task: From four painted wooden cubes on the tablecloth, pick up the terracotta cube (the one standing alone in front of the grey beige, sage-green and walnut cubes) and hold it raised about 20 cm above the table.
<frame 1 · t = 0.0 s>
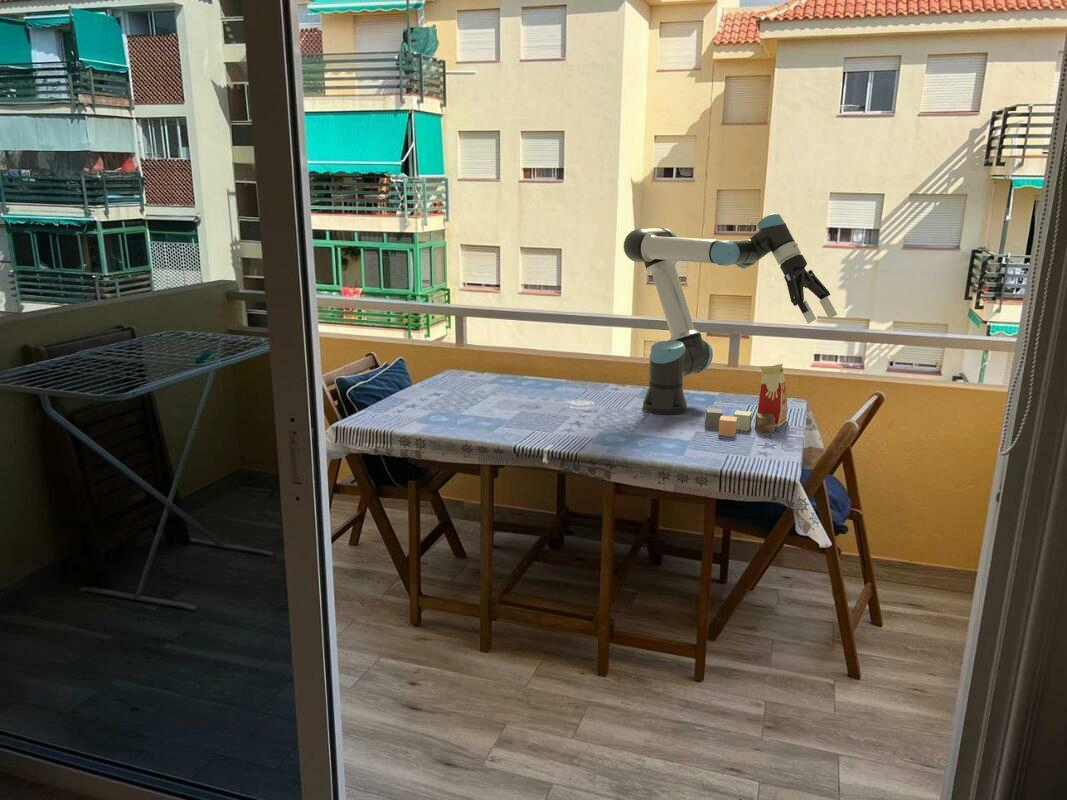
hand: (823, 319, 237), 36 cm above the table, tool tilted 35°, fingers open, 13 cm apart
walnut block: (764, 430, 248), on the table
grey beige cube: (713, 425, 253), on the table
milk carton: (769, 422, 257), on the table
terracotta block: (727, 433, 244), on the table
sage block: (741, 427, 250), on the table
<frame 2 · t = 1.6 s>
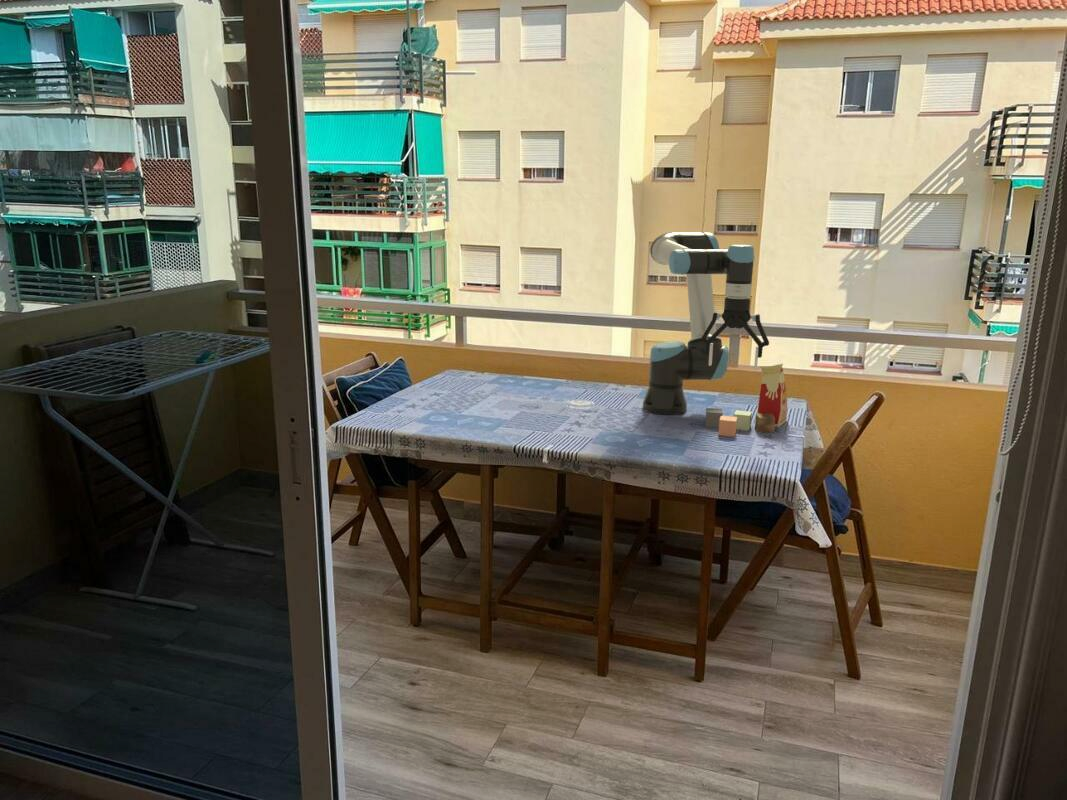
hand: (732, 366, 239), 22 cm above the table, tool pointing down, fingers open, 13 cm apart
nothing on the table moved.
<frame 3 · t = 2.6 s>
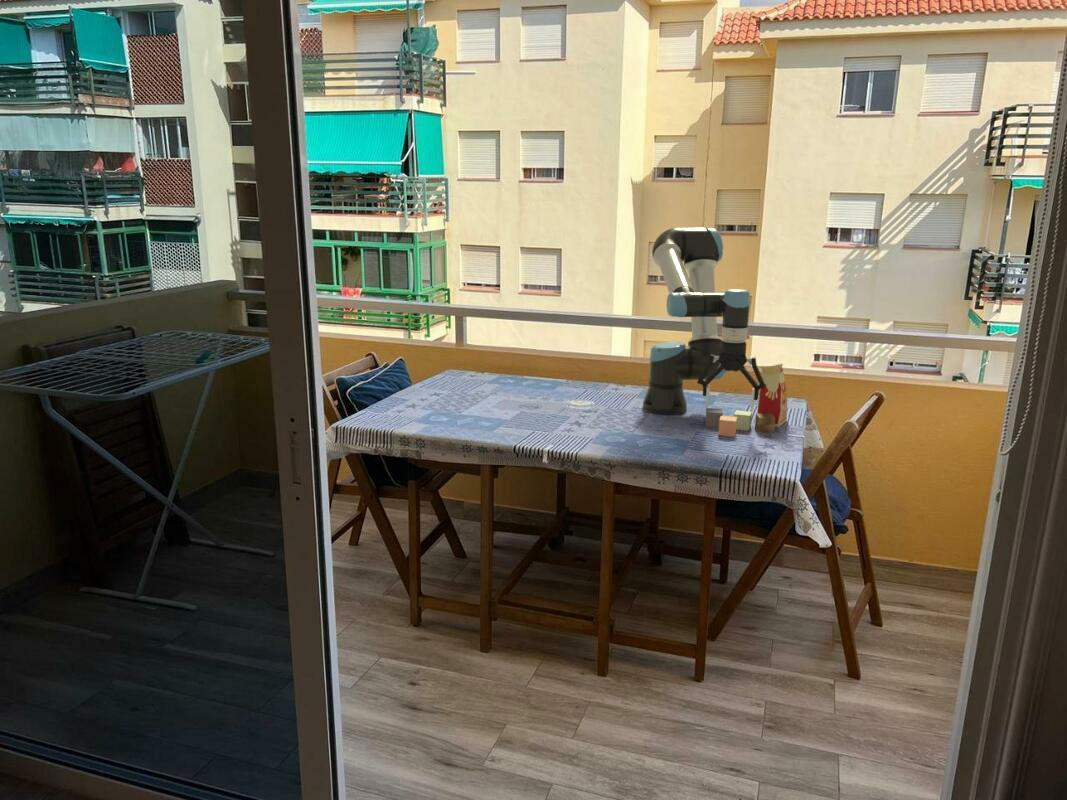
hand: (729, 408, 242), 8 cm above the table, tool pointing down, fingers open, 13 cm apart
nothing on the table moved.
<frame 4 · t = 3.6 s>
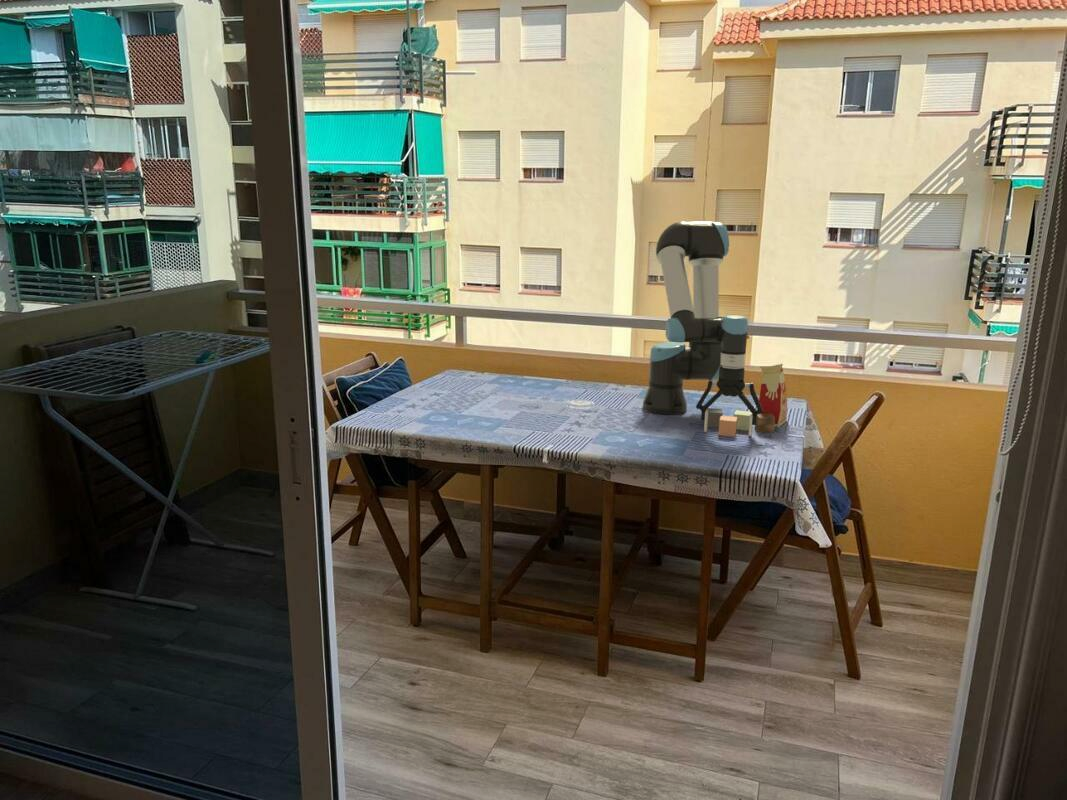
hand: (727, 432, 244), 0 cm above the table, tool pointing down, fingers open, 13 cm apart
nothing on the table moved.
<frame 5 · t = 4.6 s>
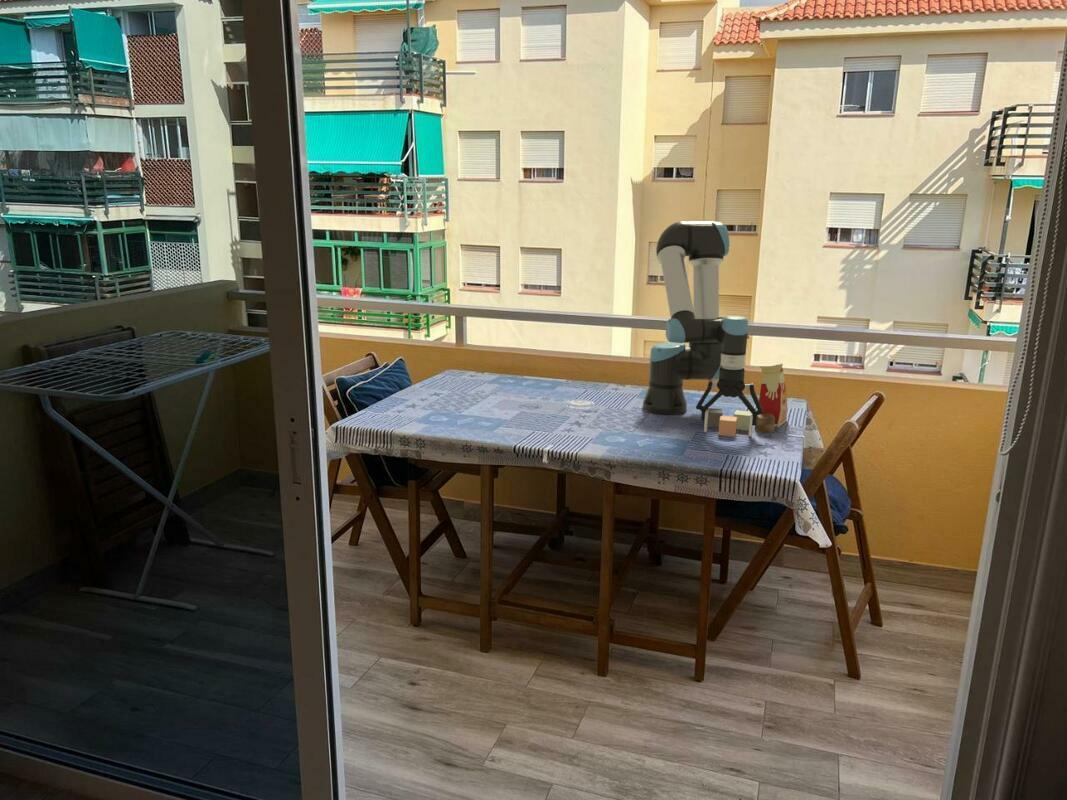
hand: (727, 433, 244), 0 cm above the table, tool pointing down, fingers open, 13 cm apart
nothing on the table moved.
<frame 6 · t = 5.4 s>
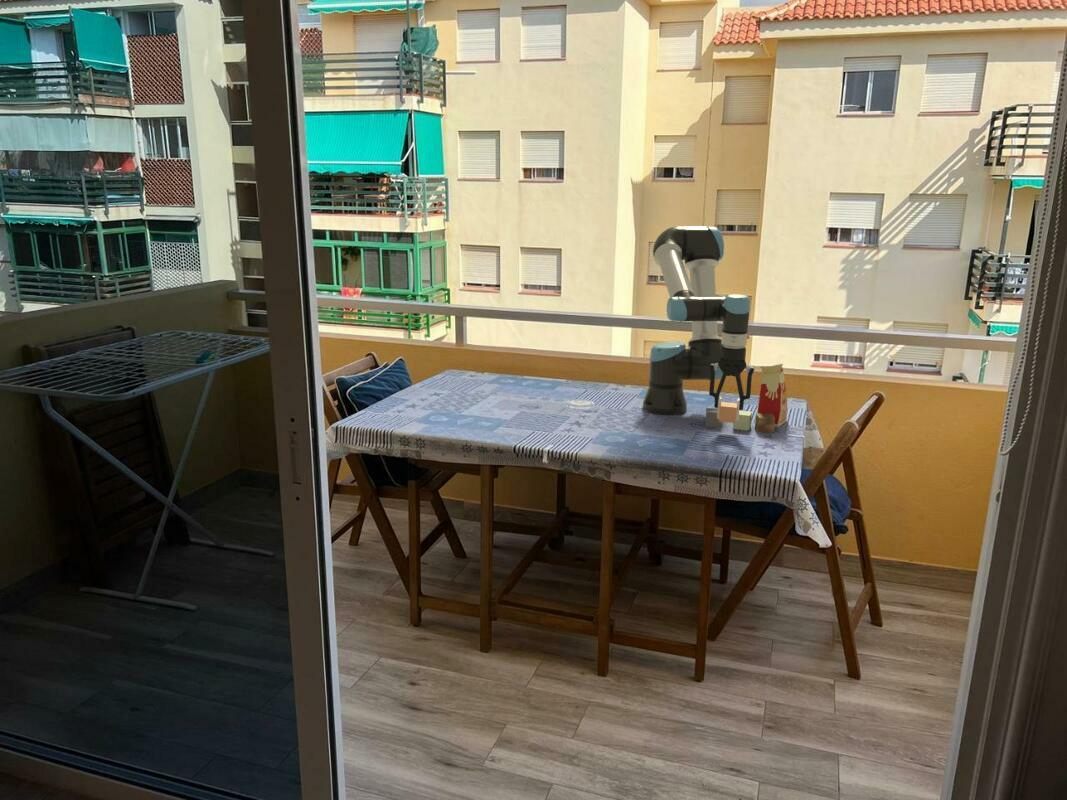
hand: (727, 418, 244), 5 cm above the table, tool pointing down, fingers closed on terracotta block, 5 cm apart
terracotta block: (727, 420, 244), point 4 cm above the table, touching gripper
everything else where it was.
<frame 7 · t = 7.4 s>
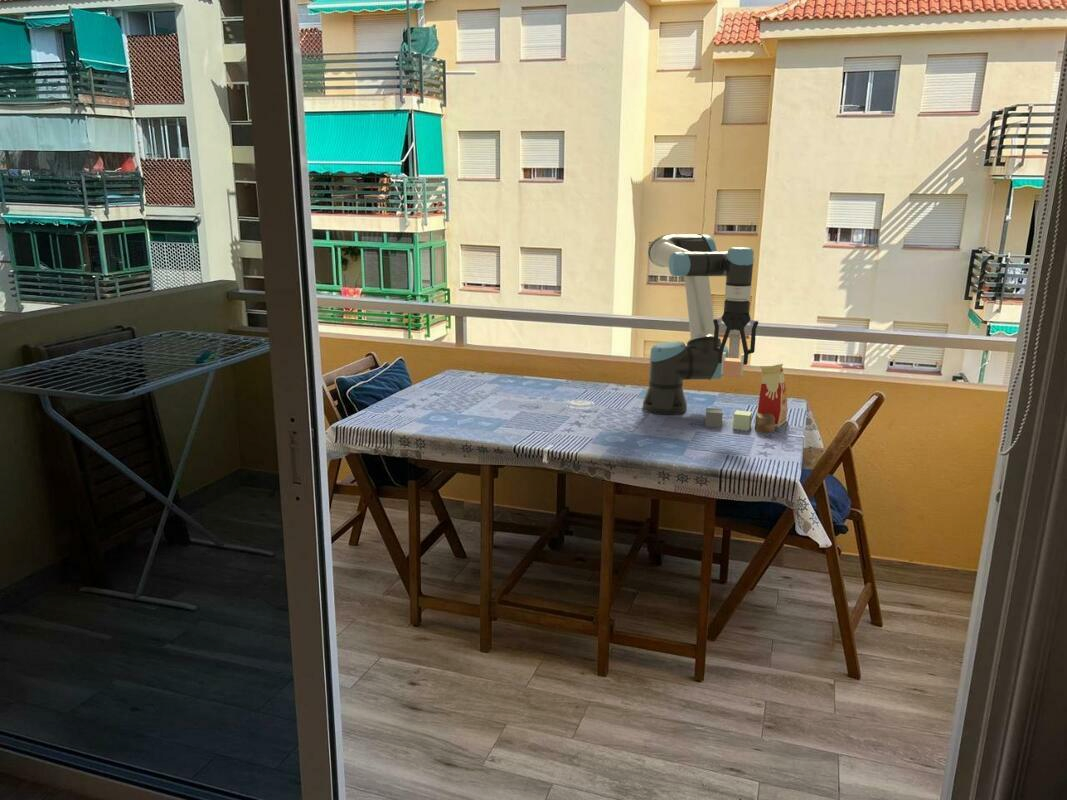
hand: (731, 373, 241), 19 cm above the table, tool pointing down, fingers closed on terracotta block, 5 cm apart
terracotta block: (731, 375, 241), point 18 cm above the table, touching gripper
everything else where it was.
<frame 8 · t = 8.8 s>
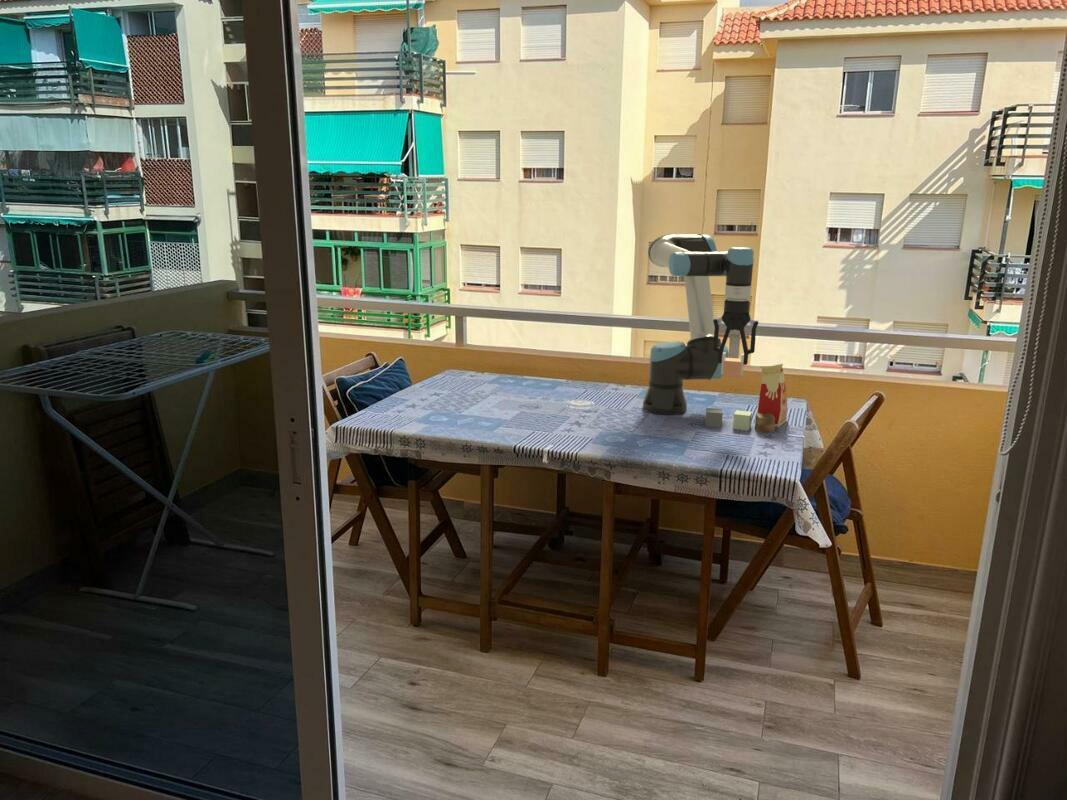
hand: (731, 373, 241), 19 cm above the table, tool pointing down, fingers closed on terracotta block, 5 cm apart
terracotta block: (731, 375, 241), point 18 cm above the table, touching gripper
everything else where it was.
at the end: the gripper is holding terracotta block; terracotta block point 18.3 cm above the table; sage block moved 0.1 cm from its start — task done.
